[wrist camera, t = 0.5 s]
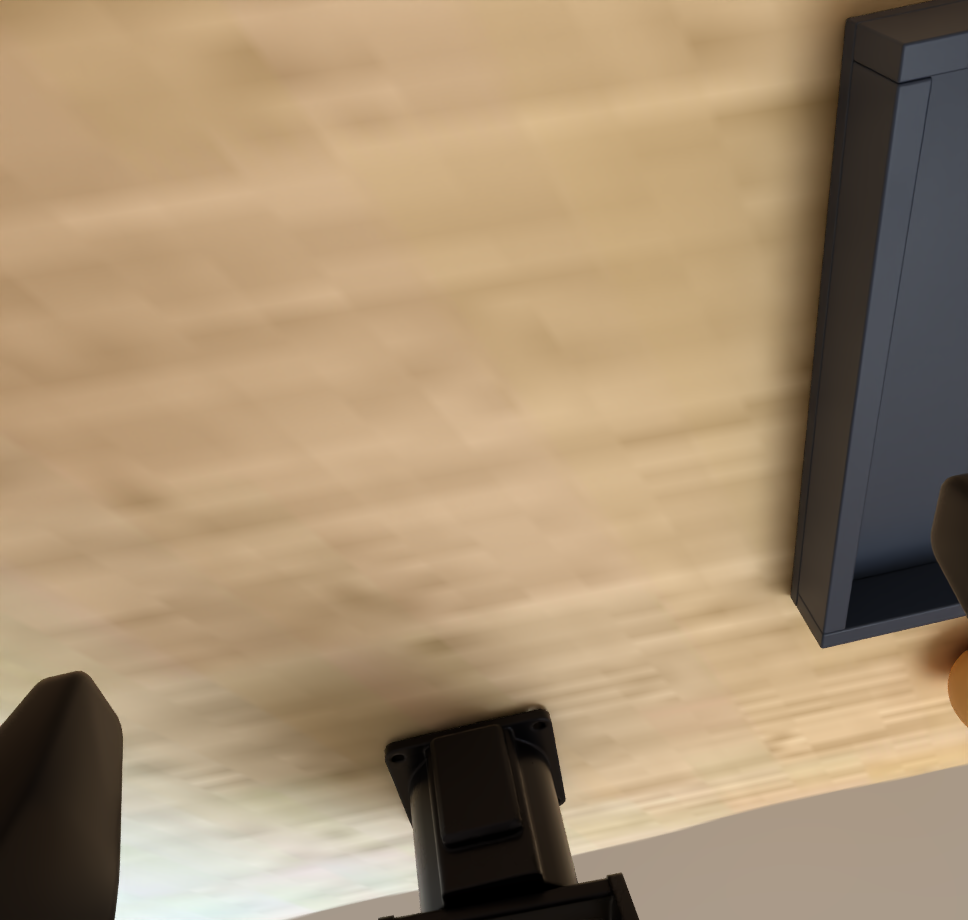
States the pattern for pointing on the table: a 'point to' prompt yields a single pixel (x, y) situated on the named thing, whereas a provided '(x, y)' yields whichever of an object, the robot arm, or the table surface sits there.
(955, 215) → the tray
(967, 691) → the figurine
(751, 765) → the table surface
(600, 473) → the table surface
